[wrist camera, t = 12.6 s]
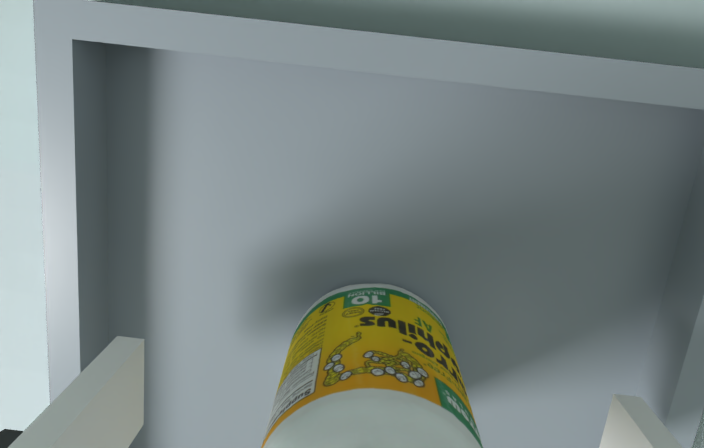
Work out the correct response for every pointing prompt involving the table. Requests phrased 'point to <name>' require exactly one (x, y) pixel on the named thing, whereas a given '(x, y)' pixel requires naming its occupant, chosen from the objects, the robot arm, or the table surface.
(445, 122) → the slate tray
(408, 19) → the table surface
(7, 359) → the table surface
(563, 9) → the table surface
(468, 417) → the supplement bottle
